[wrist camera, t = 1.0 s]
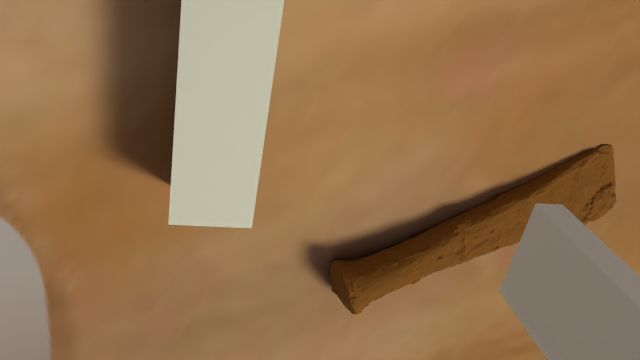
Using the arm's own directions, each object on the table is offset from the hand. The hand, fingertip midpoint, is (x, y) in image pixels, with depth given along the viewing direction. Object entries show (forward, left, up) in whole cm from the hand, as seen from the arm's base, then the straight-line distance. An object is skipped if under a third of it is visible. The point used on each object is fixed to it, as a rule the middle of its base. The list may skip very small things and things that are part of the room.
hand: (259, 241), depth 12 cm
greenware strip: (0, 0, -17) cm, 17 cm away
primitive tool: (+17, -9, -17) cm, 26 cm away
